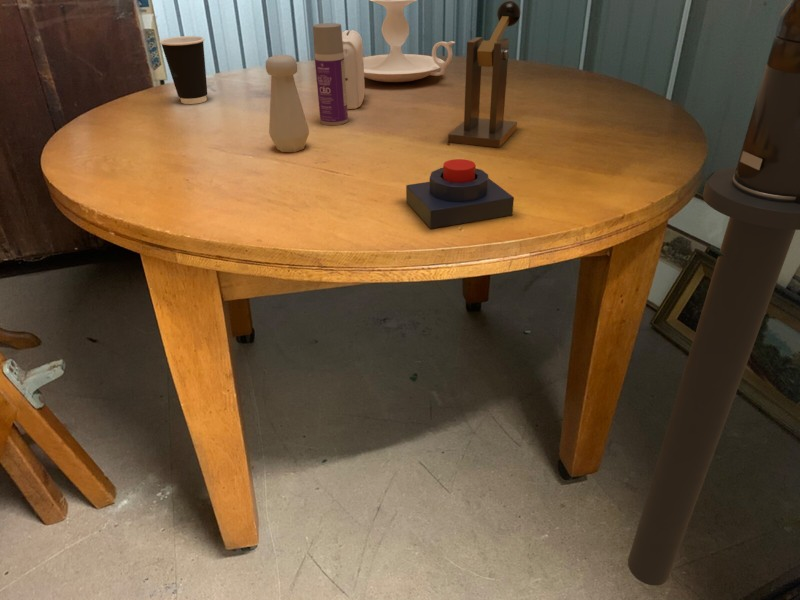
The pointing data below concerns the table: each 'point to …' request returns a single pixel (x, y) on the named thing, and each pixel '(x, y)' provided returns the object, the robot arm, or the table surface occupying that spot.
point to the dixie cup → (187, 67)
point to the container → (330, 73)
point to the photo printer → (353, 68)
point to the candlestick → (396, 62)
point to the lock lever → (498, 31)
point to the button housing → (458, 200)
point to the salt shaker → (285, 106)
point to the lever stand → (474, 127)
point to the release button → (459, 171)
